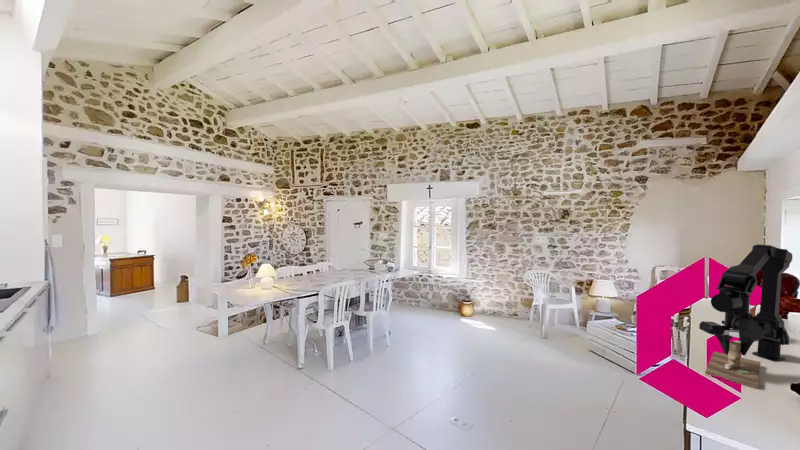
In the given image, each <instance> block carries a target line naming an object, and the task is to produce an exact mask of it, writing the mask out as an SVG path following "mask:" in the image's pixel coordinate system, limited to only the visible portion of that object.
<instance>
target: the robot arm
mask: <svg viewBox="0 0 800 450" xmlns="http://www.w3.org/2000/svg"><path fill="white" fill-rule="evenodd" d="M792 261H793V253H791V252H790V251H789V250H788V249H786V248H779V247H776V246H774V245H772V244H771V245H770V244H759V243H758V244H754V245H753V246H752V248H751V251H749V253H748V254H747V255H746V257H744V259H743V260H742V261H741V262H740V263H739V264H737V265H733V266H730V267H728V268H727V269H726V270H725V271H724V272H723V273H722V275H721V277H720V279H719V282H718V284H717V286H716V290H718V293H717V294H714V295H713V296H712V297H711V299H710V304H711V307H712V308H713V309H714V310H716V311H718V312H719V313H724V320H722V319H721V324H723V325H721V324H719V323H717V322H715V321H706V320H705V321H703V320H702V321H701V322H700V323H699V327H698V329H699V330H700V331H703V332H705V333H707V334H709V335H713V336H715V337H716V338H717V340H718V342H719V344H720V346H721V349H722V350H723V352H724V353H723V354H727V355H728V352H729V344H730V342H731V340H732V339H733V336H730V335H729V332H739V338H738V341H740V342H741V350H740V351H741V356H746V355H747V353H748V351H749V350H750V348H751V347H752V345H753V344H754V342H757V351H754V352H751V354H752V355H754V356H757V357H761V358H764V359H766V360H770V361H773V362H777V361H782V360H786V357H785V356H781V349H782V348H781V347H782V346H785V345H786V346H789V344H790V335H789V333H788V331H787V329H786V327H785V320H784V319H783V318H782V317H781V315H780V313H779V312H780V300H781V289H782V277H783V276H782V275H783V274H784V272H785V271H786V270H788V269H789V268H790V264H791V263H792ZM760 270H761V271H762V281H761V295H760V306H759V312H758V313H756V314H755V316H754V317H753V316H752V314H750V313H749V305H751V304H750V300H751V295H752V293H753V291H754V290H755V288H756V286H757V284H758V279H757V274H758V272H759V271H760Z"/></svg>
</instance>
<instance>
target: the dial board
mask: <svg viewBox="0 0 800 450" xmlns="http://www.w3.org/2000/svg"><path fill="white" fill-rule="evenodd" d="M739 358H740V368H734V367H732V368H730V369H727V368H725V365H726V364H728V355H727V354H725V353H723V352H717V351H713V352H712V354H711V357H710V359H709V362H708V364H707V365H706V369H705V372H704V374H707V375H713V376H717V377H722V378H724V379H726V380H730V381H732V382H731V383H733V382H736V383H735V384H737V383H739V384H738V385H740V384H741V386H744V387H749V388H751V389H755V390H758V389H759V387H758V386H759V379H760V371H761V370H760V369H761V361H756V360H754V359H753V360H752V359H748V358H745V357H741V356H740V357H739ZM707 375H706V376H707Z"/></svg>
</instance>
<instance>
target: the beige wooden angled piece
mask: <svg viewBox="0 0 800 450" xmlns="http://www.w3.org/2000/svg"><path fill="white" fill-rule="evenodd" d="M740 350H741V342H740V340H732V341H730V344H729V352H728V364H726V365H725V368H727V369H730V368H732V367H734V368H740V358H739V357H741V356H742V354H741V351H740Z"/></svg>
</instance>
